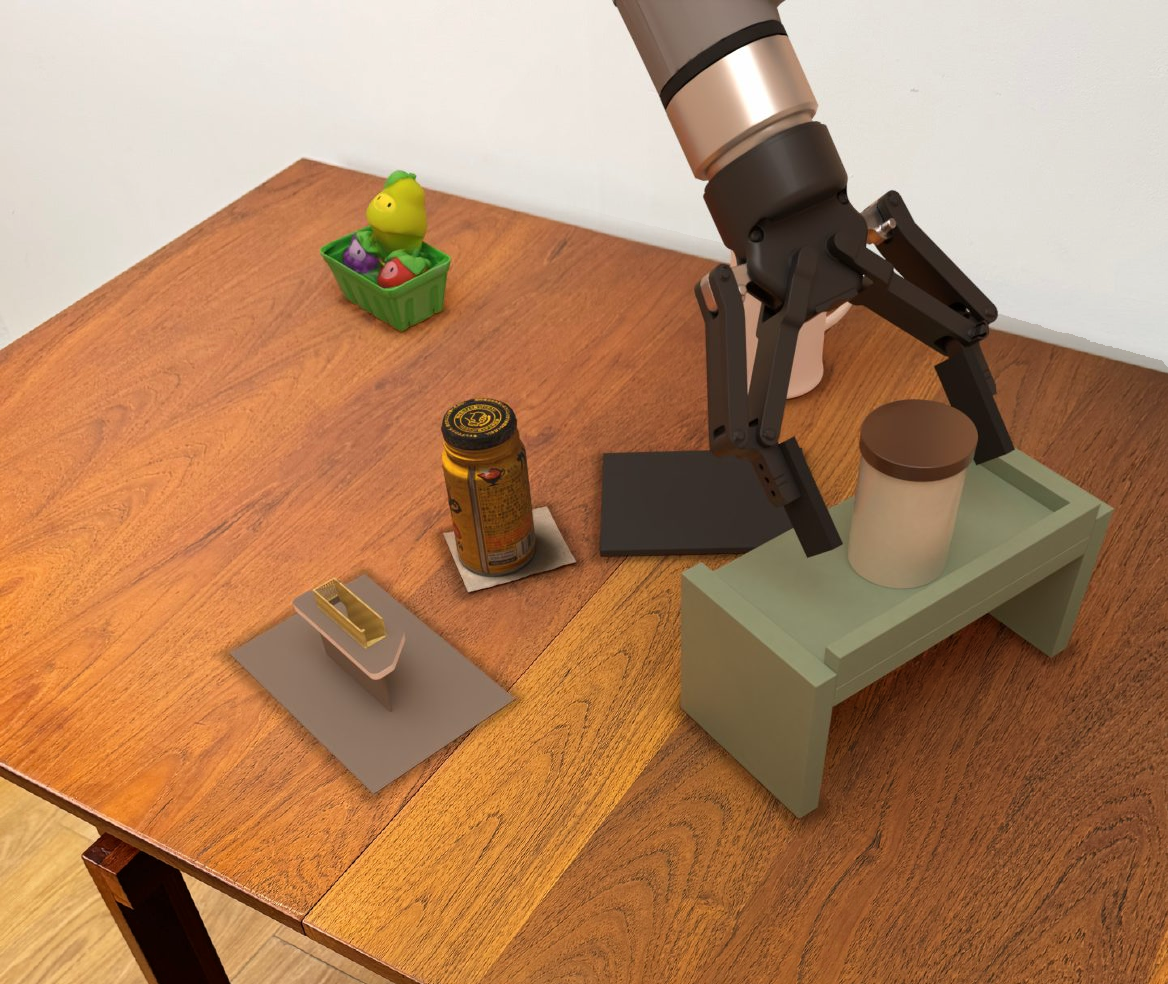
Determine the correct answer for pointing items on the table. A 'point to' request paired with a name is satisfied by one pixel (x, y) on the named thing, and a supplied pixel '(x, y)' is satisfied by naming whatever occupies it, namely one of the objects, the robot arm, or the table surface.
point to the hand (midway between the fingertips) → (913, 503)
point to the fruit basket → (392, 258)
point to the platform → (370, 679)
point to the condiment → (494, 499)
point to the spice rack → (873, 616)
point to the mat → (684, 505)
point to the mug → (807, 348)
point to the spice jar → (909, 491)
